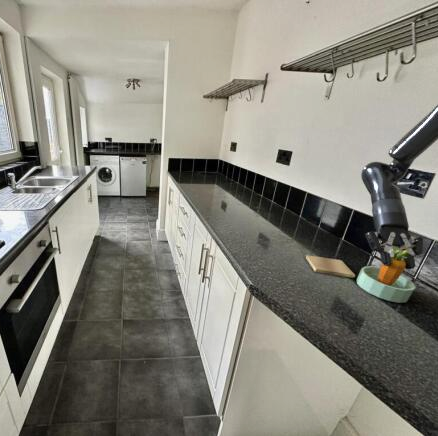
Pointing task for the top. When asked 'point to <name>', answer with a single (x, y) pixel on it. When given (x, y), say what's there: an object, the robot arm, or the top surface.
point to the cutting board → (329, 266)
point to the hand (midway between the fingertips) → (398, 266)
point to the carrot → (393, 268)
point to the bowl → (394, 293)
